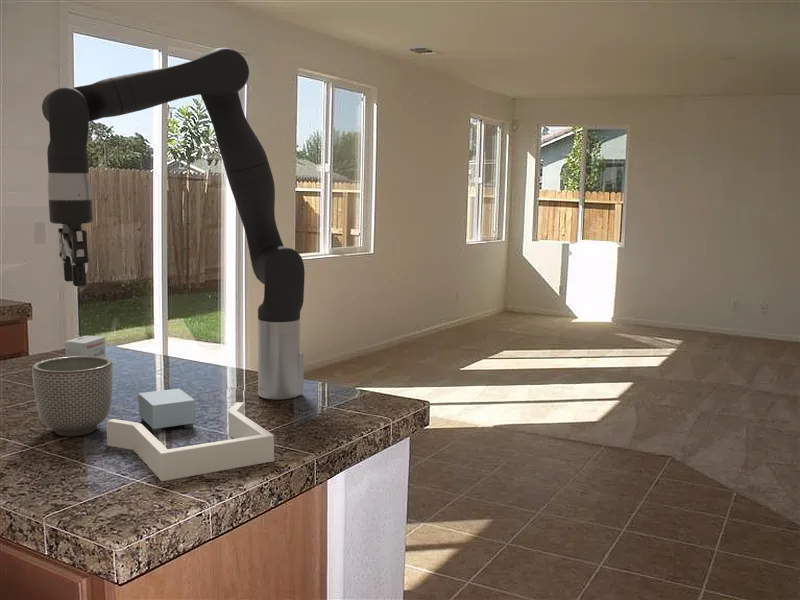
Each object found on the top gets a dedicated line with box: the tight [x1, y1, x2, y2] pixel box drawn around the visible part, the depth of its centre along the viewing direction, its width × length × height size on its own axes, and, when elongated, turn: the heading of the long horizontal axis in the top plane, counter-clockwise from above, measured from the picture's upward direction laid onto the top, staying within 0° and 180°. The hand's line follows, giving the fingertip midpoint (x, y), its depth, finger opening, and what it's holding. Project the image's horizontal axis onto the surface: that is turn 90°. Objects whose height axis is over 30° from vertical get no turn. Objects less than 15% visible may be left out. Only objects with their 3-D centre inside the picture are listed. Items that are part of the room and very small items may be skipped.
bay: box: [106, 401, 275, 482], centre depth 139 cm, size 26×23×4 cm
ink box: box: [64, 335, 107, 358], centre depth 177 cm, size 9×5×12 cm, turn 168°
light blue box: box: [137, 388, 196, 434], centre depth 154 cm, size 8×10×6 cm
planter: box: [31, 356, 114, 437], centre depth 148 cm, size 14×14×13 cm
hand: (75, 283), depth 151 cm, fingers open, 8 cm apart
